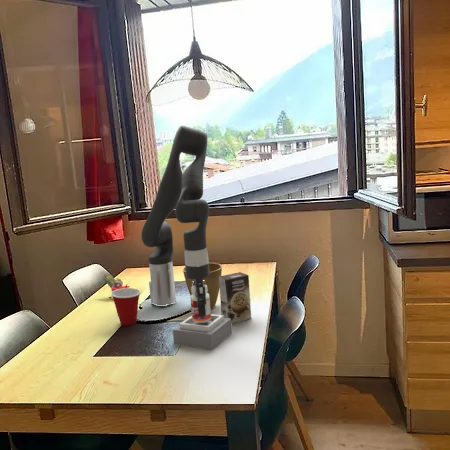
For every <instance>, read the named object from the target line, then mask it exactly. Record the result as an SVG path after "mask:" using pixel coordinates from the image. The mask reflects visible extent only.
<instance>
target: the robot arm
mask: <svg viewBox="0 0 450 450" xmlns="http://www.w3.org/2000/svg"><path fill="white" fill-rule="evenodd" d="M177 128H178V129H176V130H177V131H176V133H175V134H174V135H175V136H174V139H173V143H172V147H171V149H170V152H169V158H168V161H167V164H166V166H165V168H164V169H165V170H164V173H163V175H162V178H161V181H160V183H159V186H158V189H157V193H156V196H155V198H154V202H153V204H152V207H151V210H150V212H149V214H148V217H147V218H146V220H145V223H144V225H143V227H142V230H141V241H142V243H143V245H144V246H145V247H148V248H155V249H154V251H153V252H152V253H150V255H149V256H148V264H149V265H148V266H149V274H150V280H149V281H148V286H149V294H150V295H149V296H150V304H151V303H154V304H157V305H166V304H171V303H174V302H175V301H176V302H177V297H176V296H177V295H176V288H175V285H176V284H175V276H174V274H175V273H174V265H173V255H174V244H173V242H174V239H173V238H174V237H173V230H172V227H171V225H170V224H169V223H168V222H167V221H165V220H166V219H167V218H168V217H169V216H170V214H171V213H172V212H174V213H175V218H176V219H177V221H178V222H179V223H181V224H191V223H192V224H193V223H198V225H197V226H196V227H194V228H191V229H188V230H185V231H184V233H183V236H182V237H183V245H184V247H183V248H184V254H183V255H184V265H185V266H184V267H185V268H186V277H187V278H188V279H193V282H192V286H193V289H194V292H195V298H197V304H198V312H199V316H200V317H201V316H205V315H206V310H205V305H206V291H205V287H206V285H205V283H204V281H203V279H204V278H206V277H208V276H209V275H210V272H209V263H210V262H209V252H208V247H207V232H206V231H207V226H208V225H207V224H208V220H209V214H210V205H209V203H208V202H207V201H206V200H205V199H202V197H203V195H204V169H205V162H206V156H207V151H208V150H207V148H208V135H207V133H206V132H205V131H204V130H202V129H201V130H200V129H197V128H194V127H190V126H187V125H180V126H179V127H177ZM181 154H186V155H190V156H195V159H194V160H193V161H192V162H191V163H190V164H189V165H188V166H187V167H186V168H185V170H184V171H183V170H182V167H181V161H180V157H181ZM174 210H175V211H174ZM196 291H197V293H196ZM200 298H203V301H200V300H199V299H200Z"/></svg>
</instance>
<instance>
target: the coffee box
mask: <svg viewBox="0 0 450 450" xmlns="http://www.w3.org/2000/svg"><path fill="white" fill-rule="evenodd" d="M219 286H220V289H219V298H220V313H221V314H220V315H223V316H224V318H231V324H232V325H233V324H235V323H239V322H243V321H247V320H250V319H252V311H251V310H252V309H251V293H250V279H249V274H246V273H243V272H241V271H240V272H234V273H230V274H224V275H221V276H219Z"/></svg>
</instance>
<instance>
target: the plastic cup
mask: <svg viewBox="0 0 450 450" xmlns="http://www.w3.org/2000/svg"><path fill="white" fill-rule="evenodd" d="M110 292H111V293H110V295H111V296H110V297H111V298H112V300H113V303H114V305H115V310H116V313H117V317H118V319H119V323H120V325H121V326H132V325H134V324H136V323H137V320H138V311H139V310H138V309H139V299H140V295H141V294H142V292H141V290H140V289H138V288H134V287H129V288H122V289H117V290H114V291H112V290H111V291H110Z"/></svg>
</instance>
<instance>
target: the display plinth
mask: <svg viewBox="0 0 450 450" xmlns="http://www.w3.org/2000/svg"><path fill="white" fill-rule="evenodd" d="M232 333H233V323H232V324H231V318H224V316H223V315H221V314H213V313H211V320H210V321H208V322H204V323H196V322H194V321H193V320H192V315H190V316H189V317H188V318H186V319H185V320H183V321H181V322H180V323H179V324H178V325H177V326H176V327H174V328H173V329H172V337H173V339H172V340H173V345H176V346H183V347H190V348H196V349H203V350H211V351H212V350H214V349H215V348H216V347H218V346H219V345H220V344H221V343H222V342H224V340H226V339H227V338H228V337H229V336H230V335H231V334H232Z"/></svg>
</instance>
